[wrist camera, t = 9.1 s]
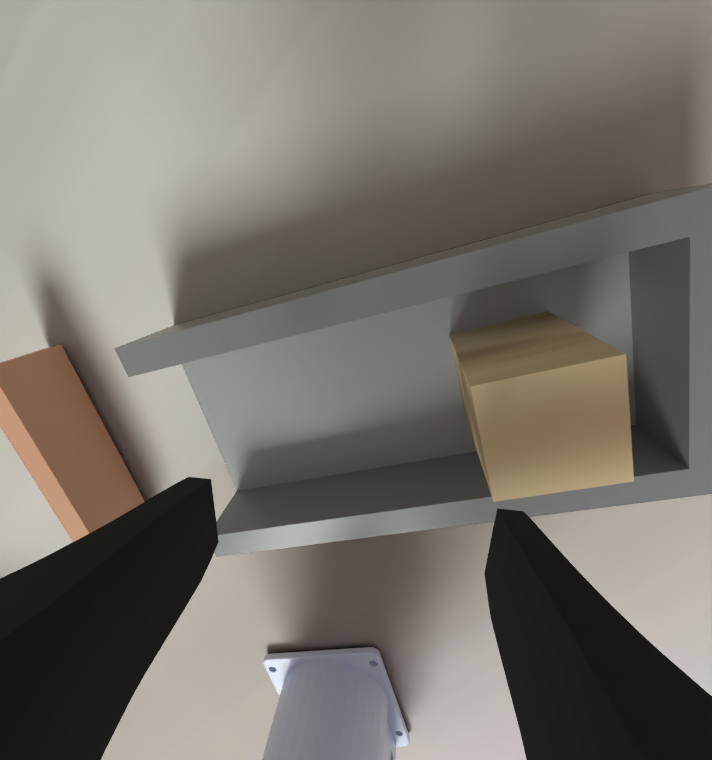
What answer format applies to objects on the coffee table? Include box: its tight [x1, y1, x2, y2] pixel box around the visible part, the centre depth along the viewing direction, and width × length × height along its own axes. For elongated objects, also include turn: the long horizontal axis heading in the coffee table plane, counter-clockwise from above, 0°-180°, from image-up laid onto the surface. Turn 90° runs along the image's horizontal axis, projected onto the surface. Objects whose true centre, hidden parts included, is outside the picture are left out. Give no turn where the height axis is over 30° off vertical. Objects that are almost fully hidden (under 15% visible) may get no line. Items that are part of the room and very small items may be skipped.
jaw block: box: [449, 311, 634, 502], centre depth 14 cm, size 4×4×6 cm
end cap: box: [0, 344, 145, 542], centre depth 20 cm, size 12×1×4 cm, turn 16°
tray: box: [115, 184, 712, 557], centre depth 16 cm, size 10×21×4 cm, turn 106°
